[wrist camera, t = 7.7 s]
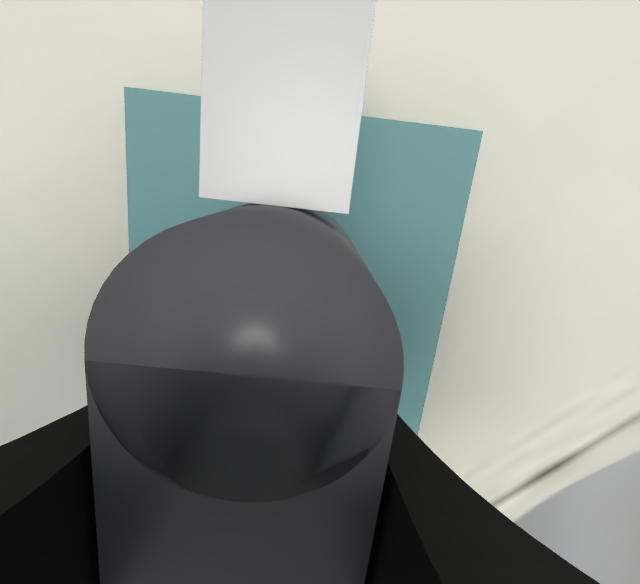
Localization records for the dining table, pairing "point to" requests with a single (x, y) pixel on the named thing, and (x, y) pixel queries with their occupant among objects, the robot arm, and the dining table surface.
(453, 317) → the dining table surface
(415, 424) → the charging mat
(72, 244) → the dining table surface
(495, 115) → the dining table surface
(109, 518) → the cylinder
